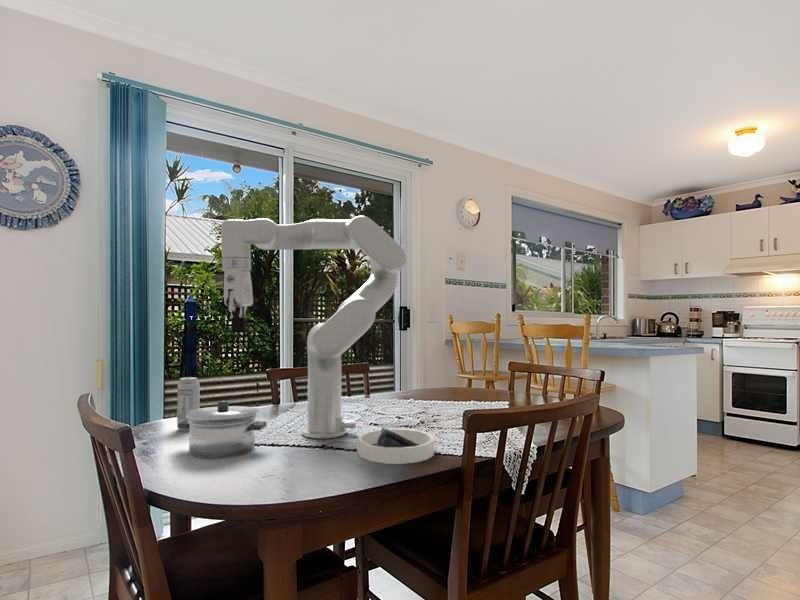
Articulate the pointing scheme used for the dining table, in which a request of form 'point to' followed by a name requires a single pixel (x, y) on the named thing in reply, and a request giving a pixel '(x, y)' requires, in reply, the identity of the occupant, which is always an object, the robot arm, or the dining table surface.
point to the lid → (222, 412)
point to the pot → (221, 437)
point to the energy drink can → (187, 398)
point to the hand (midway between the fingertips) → (238, 332)
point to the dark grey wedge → (393, 440)
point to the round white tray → (394, 453)
